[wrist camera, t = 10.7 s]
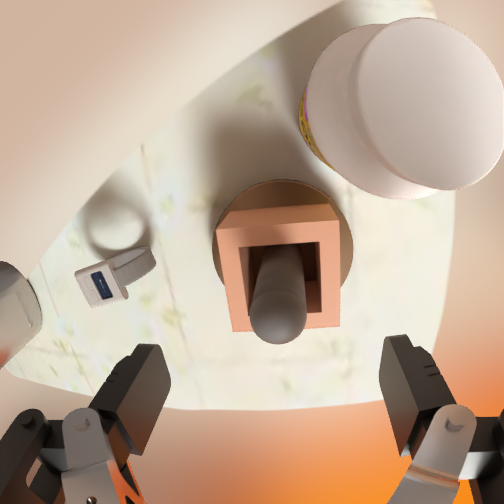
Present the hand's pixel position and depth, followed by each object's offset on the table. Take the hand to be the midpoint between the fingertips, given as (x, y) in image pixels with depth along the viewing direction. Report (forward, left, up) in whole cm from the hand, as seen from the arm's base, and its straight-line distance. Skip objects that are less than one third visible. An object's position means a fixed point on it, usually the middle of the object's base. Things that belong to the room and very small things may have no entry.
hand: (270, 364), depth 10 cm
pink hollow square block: (0, 0, -10) cm, 10 cm away
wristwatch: (-11, 0, -12) cm, 16 cm away
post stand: (0, 0, -12) cm, 12 cm away
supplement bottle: (+5, +8, -12) cm, 15 cm away
